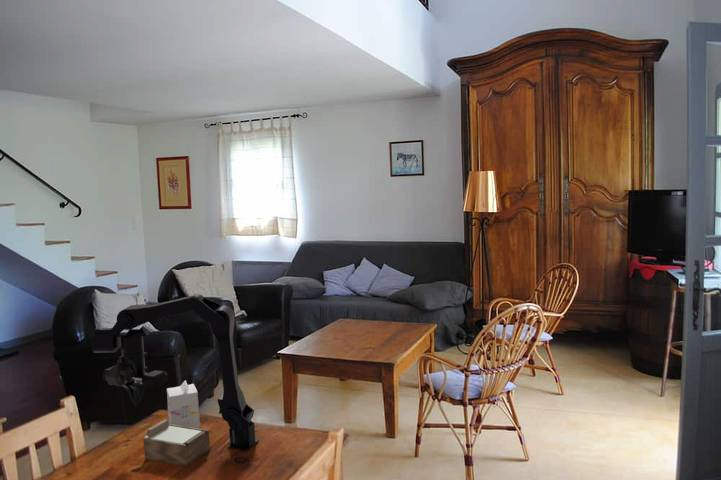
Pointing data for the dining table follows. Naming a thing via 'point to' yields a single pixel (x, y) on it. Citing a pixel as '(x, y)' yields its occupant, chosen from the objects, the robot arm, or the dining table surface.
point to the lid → (171, 433)
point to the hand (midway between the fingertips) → (136, 405)
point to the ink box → (183, 405)
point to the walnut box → (178, 449)
